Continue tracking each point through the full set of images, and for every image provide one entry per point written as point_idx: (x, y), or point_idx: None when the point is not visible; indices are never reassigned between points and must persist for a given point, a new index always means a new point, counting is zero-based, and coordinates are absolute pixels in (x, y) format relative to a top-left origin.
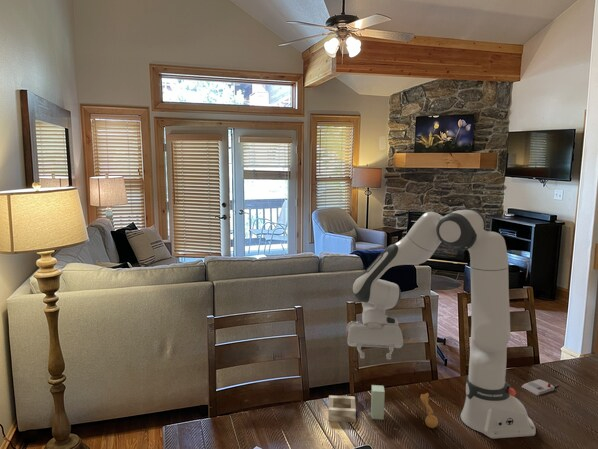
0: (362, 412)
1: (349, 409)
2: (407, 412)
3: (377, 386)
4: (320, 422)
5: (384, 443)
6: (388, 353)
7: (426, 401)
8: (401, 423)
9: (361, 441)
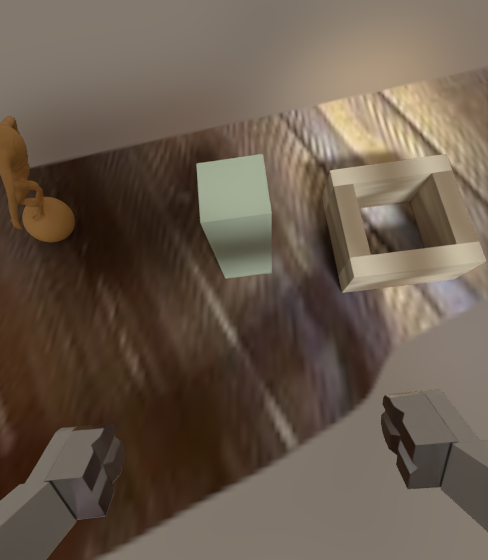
0: (304, 263)
1: (358, 176)
2: (128, 300)
3: (235, 205)
4: None
5: (222, 125)
6: (61, 472)
7: (4, 120)
8: (160, 228)
9: (290, 118)
